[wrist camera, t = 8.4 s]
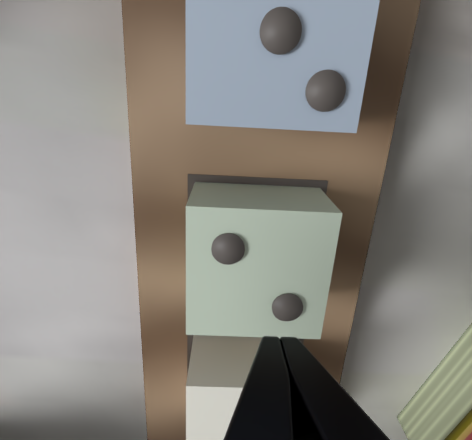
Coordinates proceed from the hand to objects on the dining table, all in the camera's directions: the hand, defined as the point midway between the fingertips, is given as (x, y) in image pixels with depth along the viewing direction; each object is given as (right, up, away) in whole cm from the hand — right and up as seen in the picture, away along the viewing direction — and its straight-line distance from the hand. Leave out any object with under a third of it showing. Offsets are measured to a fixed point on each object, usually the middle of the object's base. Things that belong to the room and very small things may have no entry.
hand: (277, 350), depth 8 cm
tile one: (-1, -5, +9) cm, 10 cm away
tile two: (0, +2, +6) cm, 7 cm away
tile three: (0, +9, +4) cm, 10 cm away
